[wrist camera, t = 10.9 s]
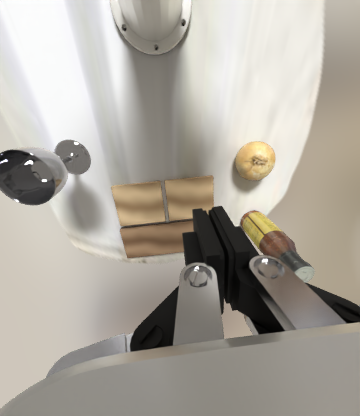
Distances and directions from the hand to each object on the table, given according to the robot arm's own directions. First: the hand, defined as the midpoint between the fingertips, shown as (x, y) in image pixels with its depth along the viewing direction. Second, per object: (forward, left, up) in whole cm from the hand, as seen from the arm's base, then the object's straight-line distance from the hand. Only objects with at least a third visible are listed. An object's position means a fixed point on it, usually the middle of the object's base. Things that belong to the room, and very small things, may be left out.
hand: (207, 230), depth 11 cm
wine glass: (0, -22, -32) cm, 39 cm away
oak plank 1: (+12, -10, -32) cm, 36 cm away
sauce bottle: (+20, +18, -32) cm, 42 cm away
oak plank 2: (+12, +2, -32) cm, 34 cm away
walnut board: (+23, -4, -32) cm, 39 cm away
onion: (+4, +16, -32) cm, 36 cm away
